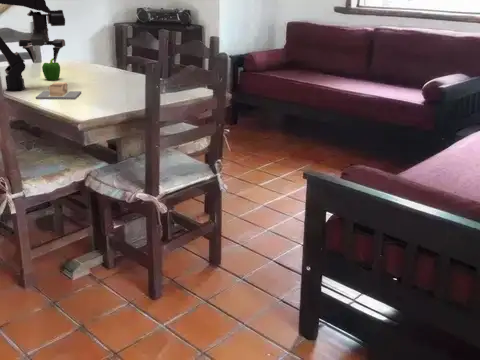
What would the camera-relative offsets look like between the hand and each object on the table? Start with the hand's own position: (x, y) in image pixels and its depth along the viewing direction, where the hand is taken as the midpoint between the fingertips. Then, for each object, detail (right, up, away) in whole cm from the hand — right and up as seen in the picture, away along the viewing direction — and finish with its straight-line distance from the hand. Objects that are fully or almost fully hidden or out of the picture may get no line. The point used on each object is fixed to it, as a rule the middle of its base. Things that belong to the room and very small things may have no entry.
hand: (44, 62), depth 243 cm
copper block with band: (+11, -16, -12) cm, 23 cm away
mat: (+11, -17, -12) cm, 23 cm away
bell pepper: (-3, -4, +21) cm, 21 cm away
